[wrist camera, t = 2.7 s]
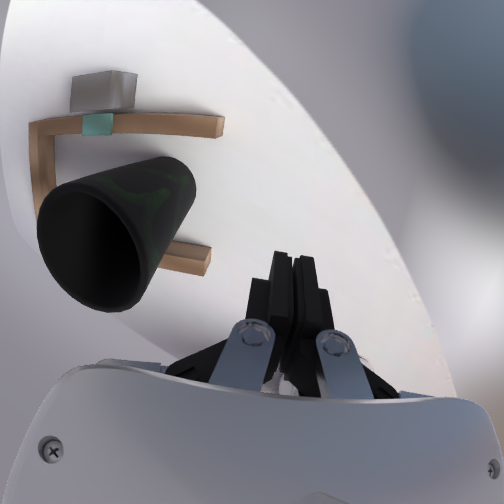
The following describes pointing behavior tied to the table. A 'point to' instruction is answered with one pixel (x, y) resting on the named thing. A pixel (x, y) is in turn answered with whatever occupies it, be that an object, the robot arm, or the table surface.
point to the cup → (113, 230)
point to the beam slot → (111, 97)
